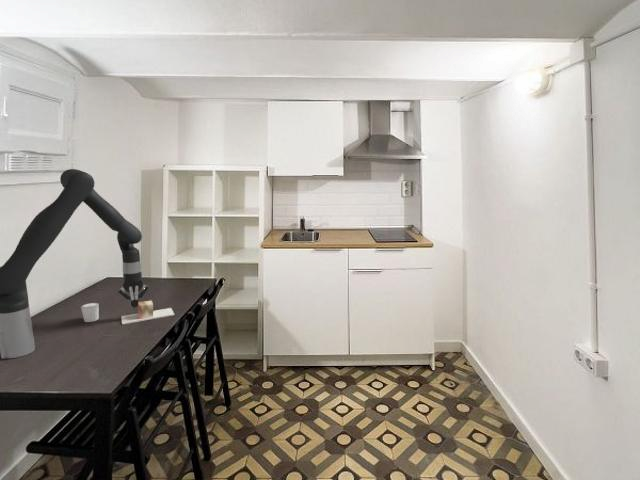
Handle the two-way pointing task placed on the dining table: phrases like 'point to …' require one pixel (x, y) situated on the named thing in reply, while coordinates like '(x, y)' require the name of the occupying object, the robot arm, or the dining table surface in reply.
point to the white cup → (90, 312)
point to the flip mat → (156, 314)
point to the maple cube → (145, 309)
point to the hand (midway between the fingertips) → (134, 307)
